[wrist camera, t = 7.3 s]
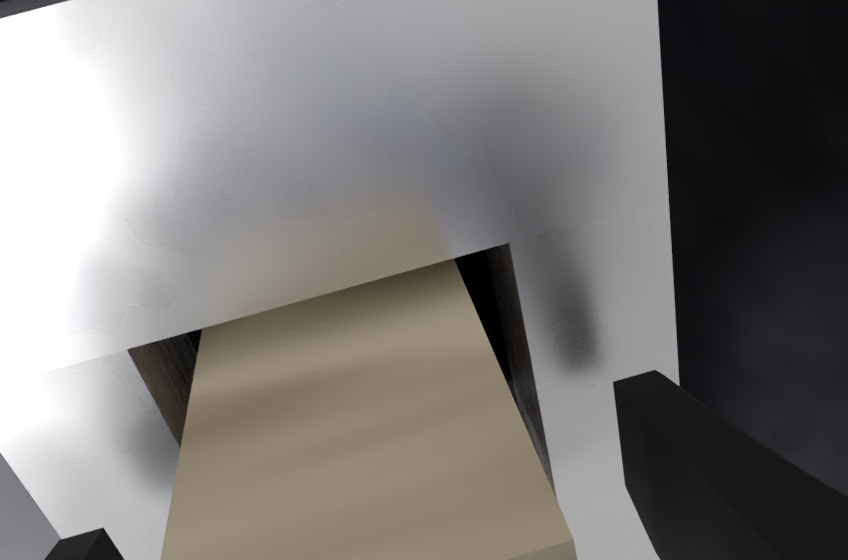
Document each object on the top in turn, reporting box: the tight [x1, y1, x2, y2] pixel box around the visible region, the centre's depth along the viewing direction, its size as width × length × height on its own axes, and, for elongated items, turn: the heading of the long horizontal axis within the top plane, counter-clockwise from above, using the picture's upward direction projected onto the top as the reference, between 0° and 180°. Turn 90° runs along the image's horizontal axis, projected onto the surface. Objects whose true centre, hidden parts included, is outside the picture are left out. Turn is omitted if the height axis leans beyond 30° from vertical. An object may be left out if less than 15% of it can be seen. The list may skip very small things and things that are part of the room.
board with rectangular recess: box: [0, 0, 679, 560], centre depth 14 cm, size 18×10×2 cm, turn 13°
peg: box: [160, 258, 577, 560], centre depth 11 cm, size 4×4×7 cm
